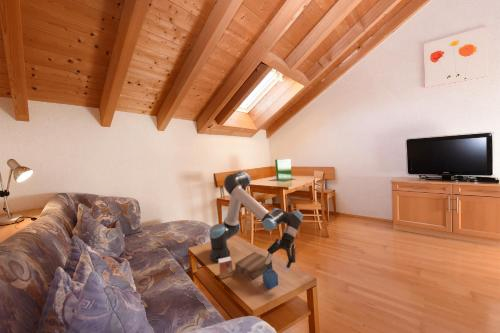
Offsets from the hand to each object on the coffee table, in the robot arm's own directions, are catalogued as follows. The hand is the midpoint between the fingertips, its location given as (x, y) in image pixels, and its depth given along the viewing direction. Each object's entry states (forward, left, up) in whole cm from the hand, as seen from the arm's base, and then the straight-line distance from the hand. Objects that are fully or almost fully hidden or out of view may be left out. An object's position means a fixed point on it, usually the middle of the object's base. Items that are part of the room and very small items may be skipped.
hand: (275, 268), depth 129 cm
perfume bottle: (-1, -3, -9) cm, 10 cm away
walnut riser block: (-20, +1, -9) cm, 22 cm away
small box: (-29, -15, -9) cm, 34 cm away
